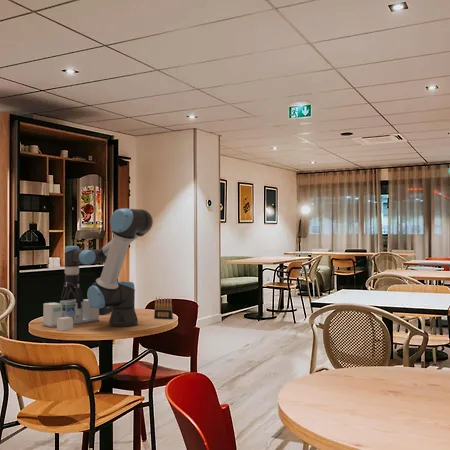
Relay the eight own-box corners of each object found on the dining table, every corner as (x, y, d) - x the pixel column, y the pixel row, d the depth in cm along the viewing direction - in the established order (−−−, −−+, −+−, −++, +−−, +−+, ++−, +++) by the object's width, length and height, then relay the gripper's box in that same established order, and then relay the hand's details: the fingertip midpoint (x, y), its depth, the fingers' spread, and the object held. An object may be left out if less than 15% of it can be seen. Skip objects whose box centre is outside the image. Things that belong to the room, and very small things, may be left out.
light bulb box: (66, 322, 272) (66, 301, 273) (59, 320, 277) (59, 300, 277) (83, 319, 280) (83, 299, 281) (76, 318, 285) (76, 298, 285)
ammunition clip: (154, 318, 293) (154, 297, 293) (155, 318, 295) (155, 297, 295) (171, 319, 290) (171, 298, 290) (172, 318, 292) (172, 297, 292)
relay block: (72, 329, 260) (73, 317, 260) (63, 331, 255) (63, 319, 256) (66, 328, 263) (66, 316, 263) (56, 330, 258) (56, 318, 258)
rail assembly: (99, 321, 285) (99, 300, 285) (51, 327, 265) (51, 305, 265) (90, 319, 292) (90, 298, 292) (42, 325, 272) (43, 303, 272)
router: (113, 310, 324) (113, 279, 325) (103, 315, 306) (103, 281, 307) (101, 310, 325) (101, 279, 326) (90, 315, 307) (90, 281, 308)
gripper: (90, 275, 273) (90, 315, 272) (67, 272, 290) (66, 310, 290) (77, 275, 267) (77, 316, 267) (54, 273, 285) (54, 311, 285)
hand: (71, 313), depth 278 cm, fingers open, 13 cm apart
